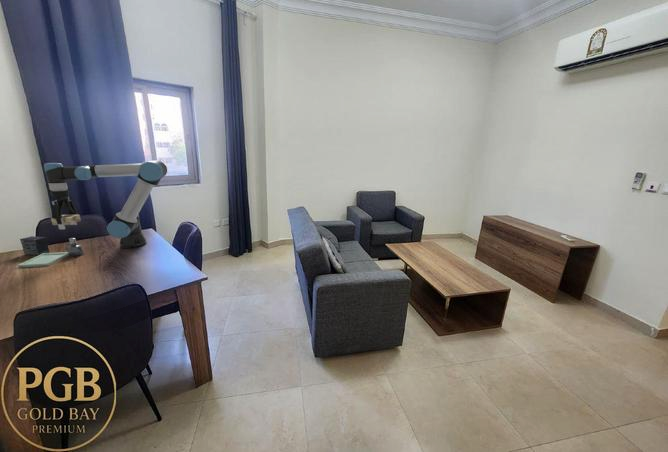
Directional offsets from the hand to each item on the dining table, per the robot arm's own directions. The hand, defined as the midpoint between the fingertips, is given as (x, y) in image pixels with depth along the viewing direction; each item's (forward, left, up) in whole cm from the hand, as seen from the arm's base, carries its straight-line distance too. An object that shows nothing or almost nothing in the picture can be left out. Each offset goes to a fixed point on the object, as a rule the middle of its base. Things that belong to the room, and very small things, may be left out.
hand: (68, 226), depth 163 cm
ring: (0, 0, +3) cm, 3 cm away
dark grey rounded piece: (0, 0, -18) cm, 18 cm away
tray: (+11, +7, -18) cm, 22 cm away
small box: (+24, -6, -19) cm, 31 cm away
